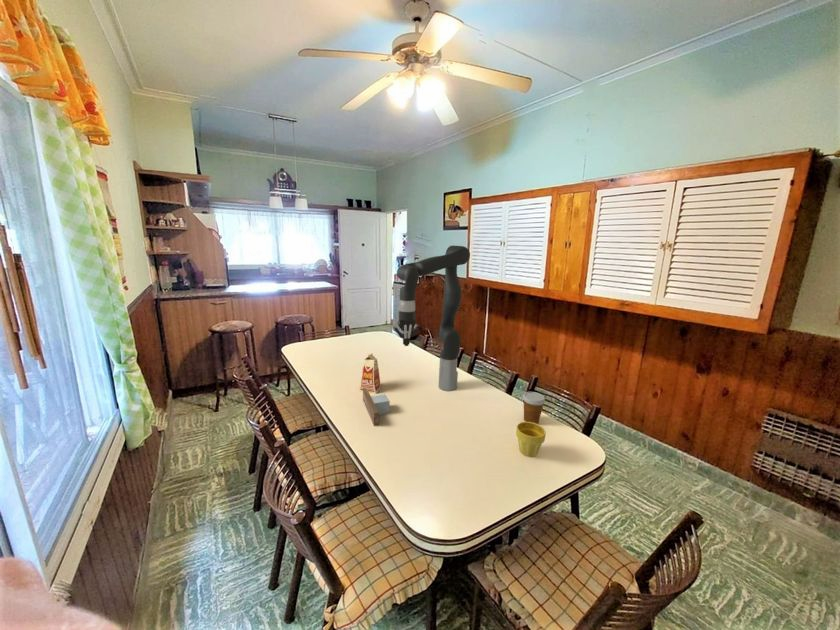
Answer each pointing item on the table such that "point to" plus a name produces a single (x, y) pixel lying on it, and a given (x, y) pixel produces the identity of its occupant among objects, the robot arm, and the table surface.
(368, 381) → the milk carton
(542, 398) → the disposable coffee cup
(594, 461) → the table surface
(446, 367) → the robot arm
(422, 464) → the table surface
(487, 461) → the table surface
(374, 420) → the board
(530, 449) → the plant pot
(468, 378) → the table surface
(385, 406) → the block
